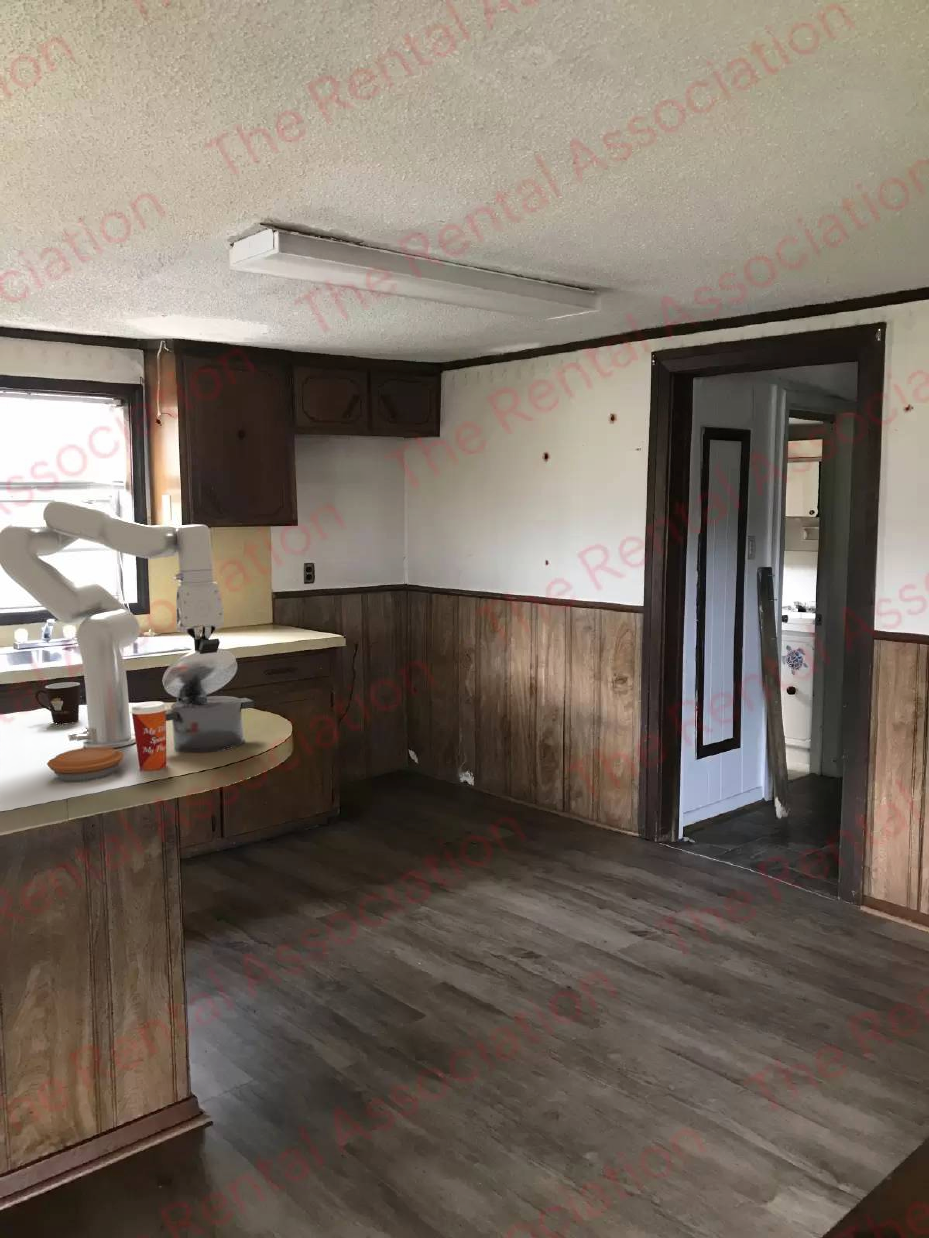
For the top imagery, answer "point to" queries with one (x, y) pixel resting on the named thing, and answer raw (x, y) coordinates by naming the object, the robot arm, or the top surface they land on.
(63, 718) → the coffee mug
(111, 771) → the pie
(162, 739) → the paper cup
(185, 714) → the cooker pot
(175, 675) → the cooker lid
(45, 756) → the top surface
